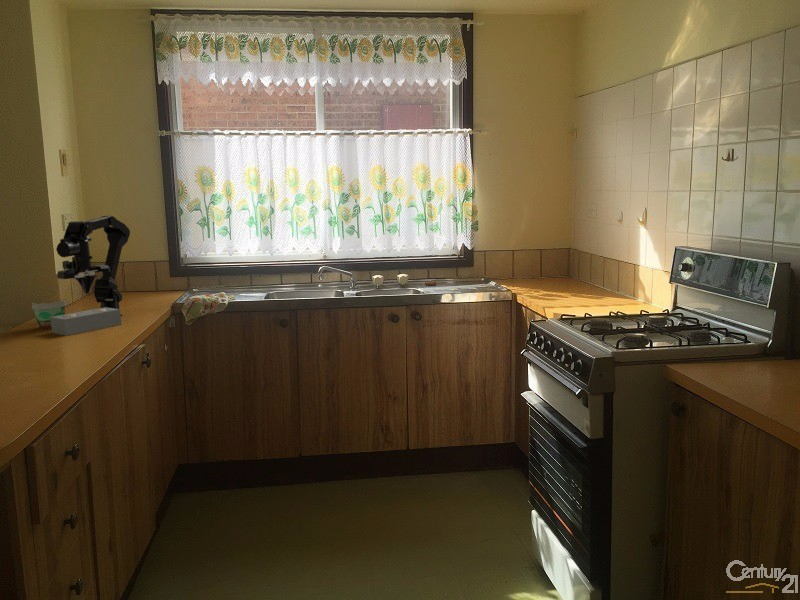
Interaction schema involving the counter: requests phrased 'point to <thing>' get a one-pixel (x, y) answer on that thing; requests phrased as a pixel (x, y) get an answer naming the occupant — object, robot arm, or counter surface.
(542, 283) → the counter surface
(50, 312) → the food container
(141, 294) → the counter surface
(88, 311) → the grey peg board
